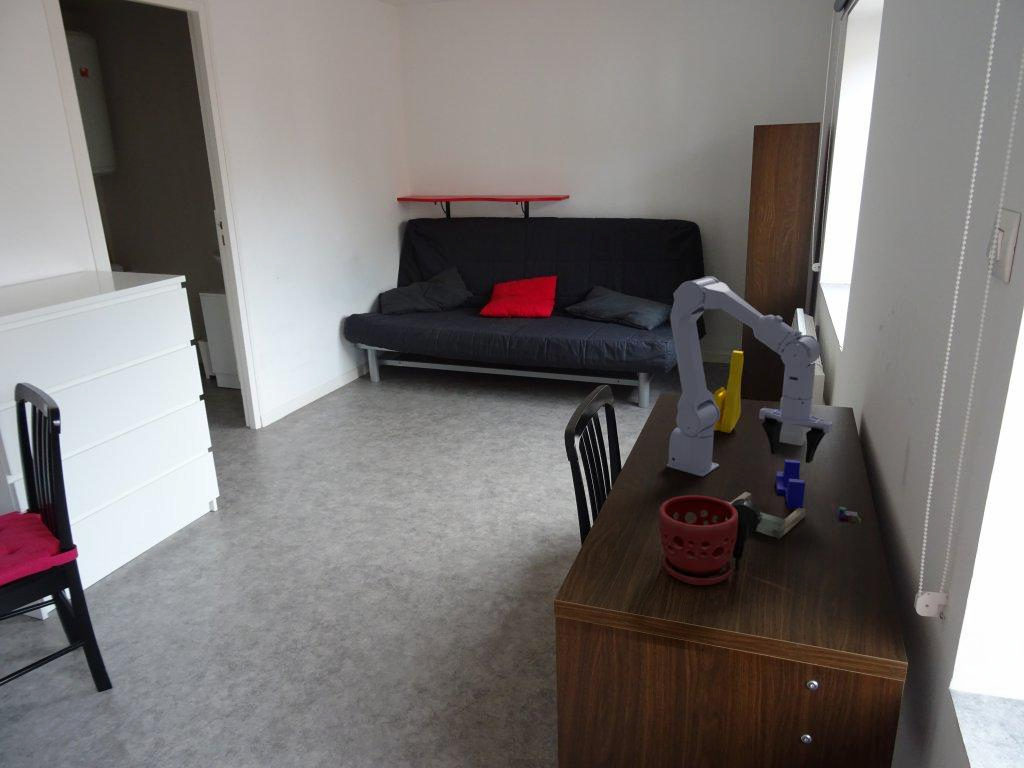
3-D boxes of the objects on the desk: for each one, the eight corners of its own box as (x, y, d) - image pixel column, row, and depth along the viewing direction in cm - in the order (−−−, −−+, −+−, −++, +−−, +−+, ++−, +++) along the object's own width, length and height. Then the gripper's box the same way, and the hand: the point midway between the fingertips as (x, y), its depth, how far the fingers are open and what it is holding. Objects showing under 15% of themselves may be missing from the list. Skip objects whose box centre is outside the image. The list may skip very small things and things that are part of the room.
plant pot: (737, 559, 129) (742, 498, 126) (729, 598, 118) (733, 532, 114) (665, 546, 134) (667, 487, 131) (650, 582, 123) (652, 519, 119)
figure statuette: (714, 418, 201) (719, 342, 195) (743, 422, 198) (749, 344, 191) (702, 440, 185) (707, 357, 179) (734, 444, 182) (739, 360, 176)
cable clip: (775, 483, 160) (777, 458, 158) (796, 485, 158) (799, 460, 157) (779, 507, 149) (781, 480, 147) (802, 509, 147) (805, 482, 146)
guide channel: (717, 518, 144) (718, 503, 143) (744, 498, 152) (745, 484, 152) (779, 538, 136) (780, 523, 135) (804, 516, 144) (806, 501, 143)
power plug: (719, 569, 126) (723, 506, 122) (729, 549, 132) (733, 489, 129) (752, 576, 123) (757, 513, 120) (760, 556, 130) (766, 496, 126)
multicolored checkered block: (838, 522, 142) (839, 511, 142) (838, 516, 145) (839, 505, 144) (861, 525, 141) (863, 514, 140) (861, 519, 143) (862, 508, 142)
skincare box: (805, 442, 182) (809, 397, 179) (801, 447, 179) (806, 402, 175) (780, 438, 185) (784, 394, 182) (776, 443, 182) (780, 398, 178)
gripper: (754, 393, 149) (750, 454, 153) (825, 407, 139) (819, 471, 143) (769, 385, 154) (764, 444, 157) (839, 398, 144) (832, 461, 148)
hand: (791, 457), depth 151 cm, fingers open, 7 cm apart
